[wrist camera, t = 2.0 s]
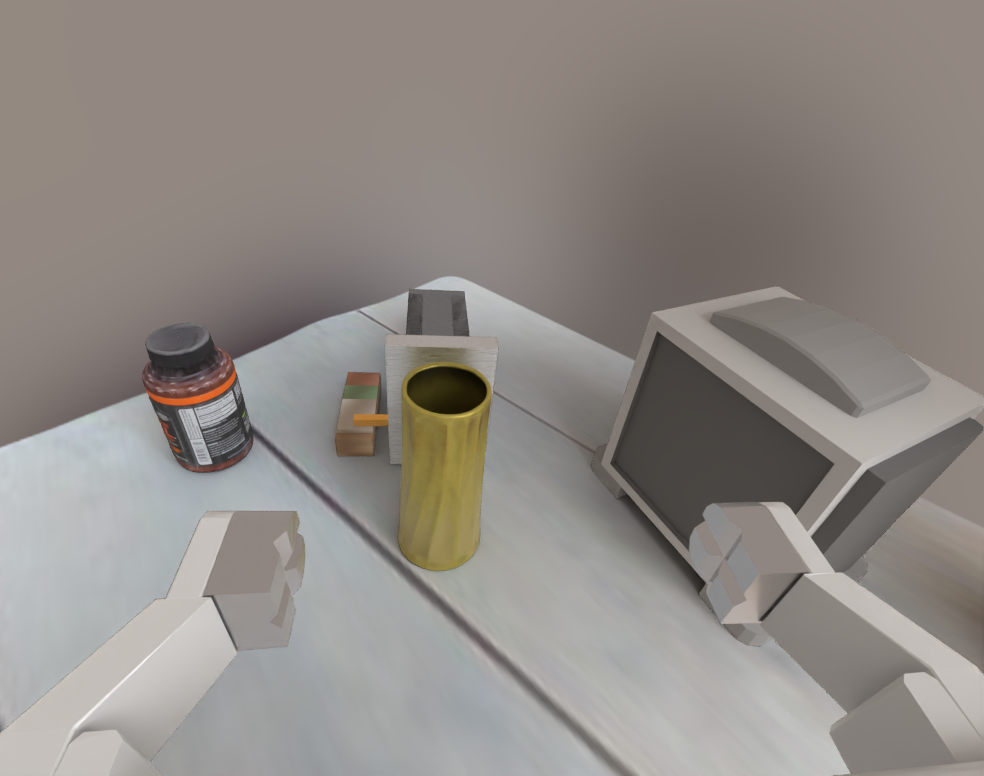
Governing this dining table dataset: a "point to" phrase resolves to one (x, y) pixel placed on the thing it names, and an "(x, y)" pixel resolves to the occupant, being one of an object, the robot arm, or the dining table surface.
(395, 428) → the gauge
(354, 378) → the rail
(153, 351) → the supplement bottle
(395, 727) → the dining table surface
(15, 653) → the dining table surface
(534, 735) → the dining table surface
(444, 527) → the vase
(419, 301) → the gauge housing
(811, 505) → the grey box
